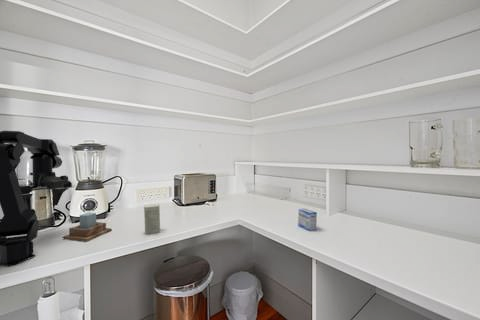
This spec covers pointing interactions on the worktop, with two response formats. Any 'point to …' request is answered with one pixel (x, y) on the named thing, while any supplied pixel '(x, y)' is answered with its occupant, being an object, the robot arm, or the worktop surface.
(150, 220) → the skincare box
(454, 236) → the worktop surface
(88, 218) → the slate peg
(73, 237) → the walnut socket
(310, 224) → the medicine box
